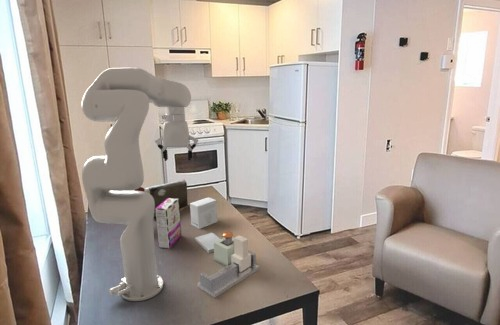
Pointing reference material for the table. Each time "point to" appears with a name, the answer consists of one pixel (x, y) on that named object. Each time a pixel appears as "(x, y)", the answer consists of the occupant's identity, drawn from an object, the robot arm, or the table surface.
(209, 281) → the guide rail
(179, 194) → the radio
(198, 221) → the skincare box
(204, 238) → the hard drive
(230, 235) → the button
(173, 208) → the candy bar box
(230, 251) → the hollow cube
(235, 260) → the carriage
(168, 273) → the table surface
